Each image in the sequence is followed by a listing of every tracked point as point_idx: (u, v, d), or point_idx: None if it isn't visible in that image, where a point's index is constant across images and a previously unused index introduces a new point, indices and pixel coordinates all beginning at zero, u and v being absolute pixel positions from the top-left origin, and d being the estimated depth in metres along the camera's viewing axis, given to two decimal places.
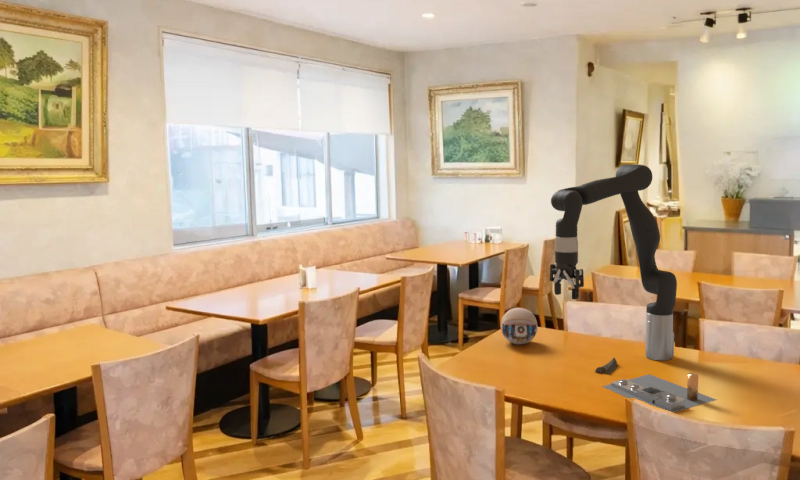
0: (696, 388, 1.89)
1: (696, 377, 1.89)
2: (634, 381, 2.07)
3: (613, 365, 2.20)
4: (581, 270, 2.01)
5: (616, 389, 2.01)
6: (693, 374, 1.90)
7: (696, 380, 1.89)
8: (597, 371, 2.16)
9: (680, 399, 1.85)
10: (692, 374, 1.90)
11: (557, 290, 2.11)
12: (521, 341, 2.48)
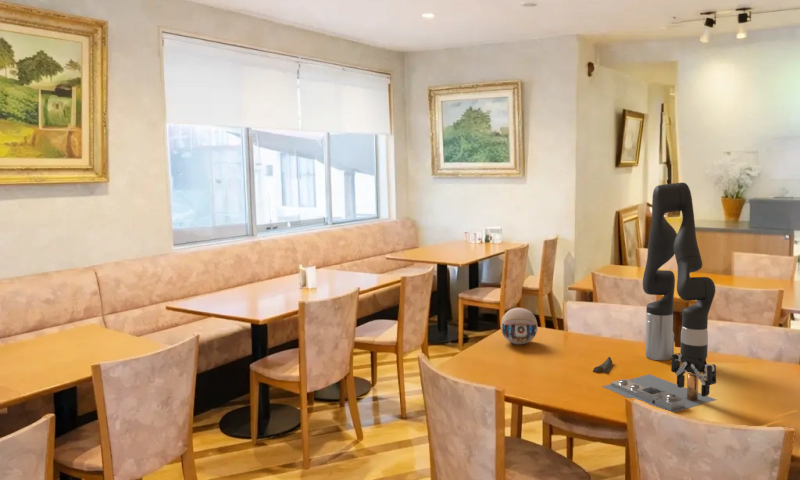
0: (696, 388, 1.89)
1: (696, 377, 1.89)
2: (634, 381, 2.07)
3: (609, 364, 2.21)
4: (714, 366, 1.84)
5: (616, 389, 2.01)
6: (693, 374, 1.90)
7: (696, 380, 1.89)
8: (595, 371, 2.17)
9: (680, 399, 1.85)
10: (692, 374, 1.90)
11: (680, 383, 1.94)
12: (521, 341, 2.48)
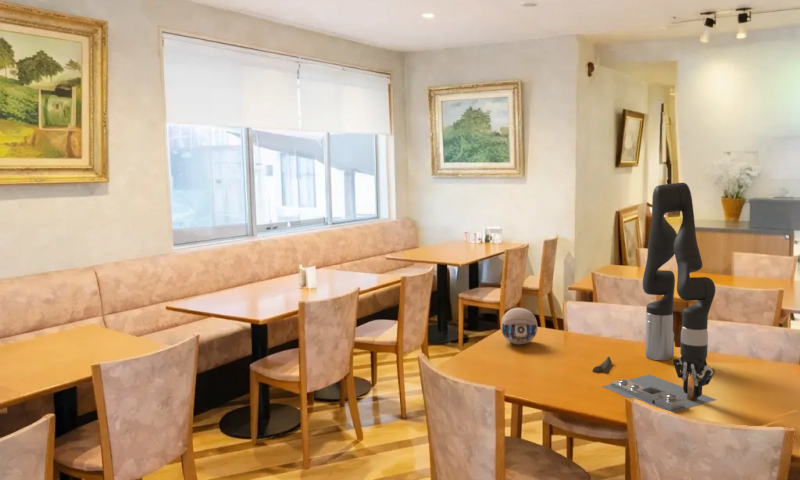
0: None
1: None
2: (634, 381, 2.07)
3: (609, 364, 2.21)
4: (713, 371, 1.84)
5: (616, 389, 2.01)
6: None
7: None
8: (594, 370, 2.17)
9: (680, 399, 1.85)
10: None
11: None
12: (521, 341, 2.48)
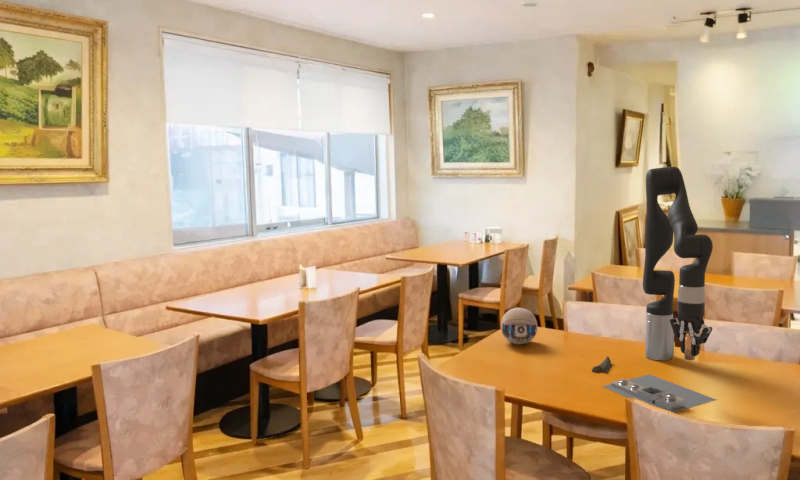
0: None
1: None
2: (634, 381, 2.07)
3: (608, 364, 2.22)
4: (710, 329, 1.83)
5: (616, 389, 2.01)
6: None
7: None
8: (594, 370, 2.17)
9: (680, 399, 1.85)
10: (689, 333, 1.88)
11: (684, 348, 1.90)
12: (521, 341, 2.48)
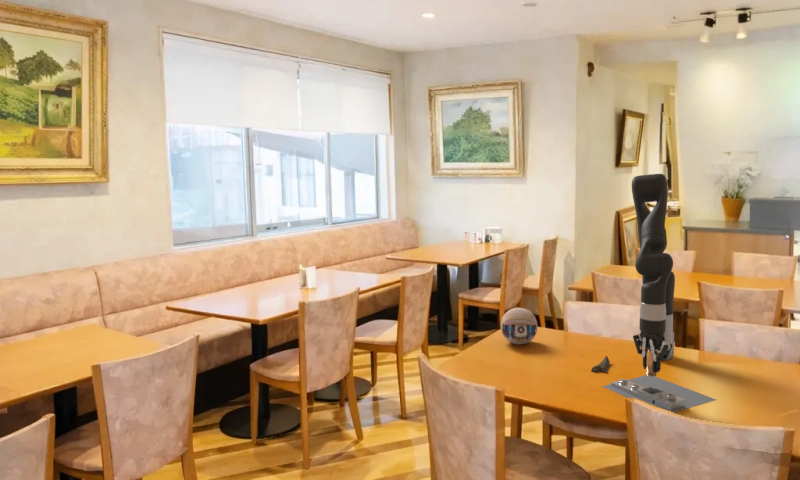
0: None
1: None
2: (634, 381, 2.07)
3: (607, 363, 2.22)
4: (670, 346, 1.85)
5: (616, 389, 2.01)
6: None
7: None
8: (593, 370, 2.17)
9: (680, 399, 1.85)
10: None
11: None
12: (521, 341, 2.48)
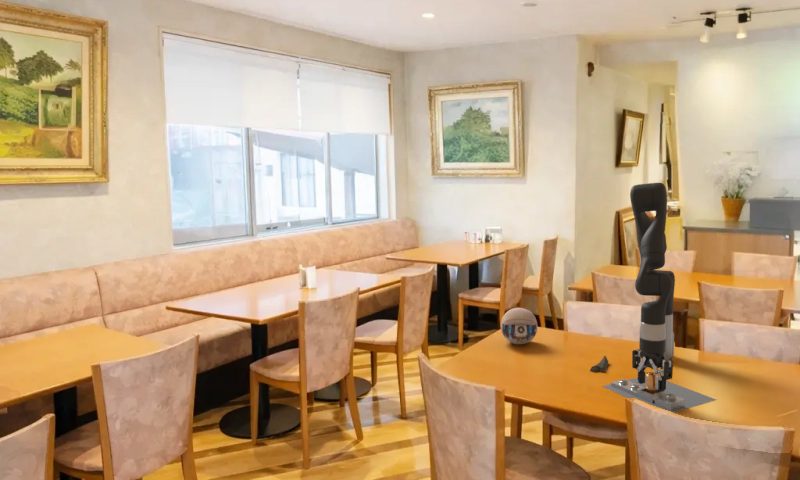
0: (654, 387, 1.91)
1: (654, 376, 1.91)
2: (634, 381, 2.07)
3: (606, 363, 2.22)
4: (671, 362, 1.85)
5: (616, 389, 2.01)
6: (651, 373, 1.92)
7: (654, 379, 1.91)
8: (592, 370, 2.18)
9: (680, 399, 1.85)
10: (651, 373, 1.92)
11: (641, 379, 1.95)
12: (521, 341, 2.48)
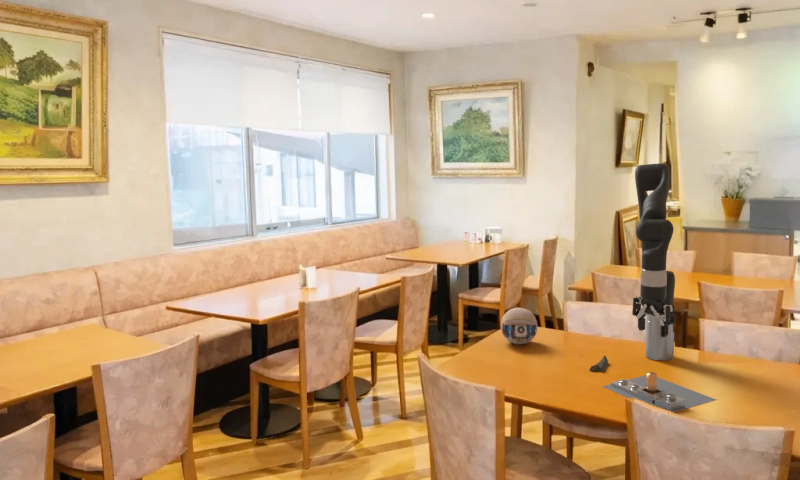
0: (654, 387, 1.91)
1: (654, 376, 1.91)
2: (634, 381, 2.07)
3: (605, 363, 2.22)
4: (672, 306, 1.86)
5: (616, 389, 2.01)
6: (652, 373, 1.92)
7: (654, 379, 1.91)
8: (591, 370, 2.18)
9: (680, 399, 1.85)
10: (651, 373, 1.92)
11: (641, 325, 1.96)
12: (521, 341, 2.48)
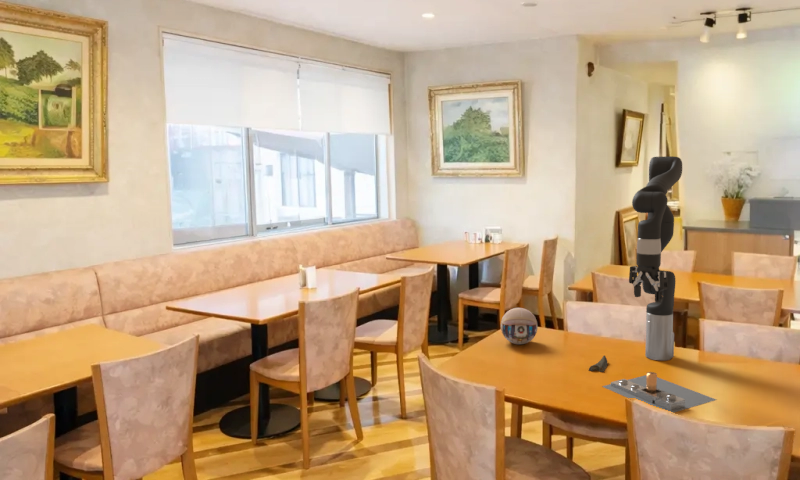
0: (654, 387, 1.91)
1: (654, 376, 1.91)
2: (634, 381, 2.07)
3: (605, 363, 2.23)
4: (665, 272, 1.99)
5: (616, 389, 2.01)
6: (652, 373, 1.92)
7: (654, 379, 1.91)
8: (591, 369, 2.18)
9: (680, 399, 1.85)
10: (651, 373, 1.92)
11: (637, 292, 2.09)
12: (521, 341, 2.48)
